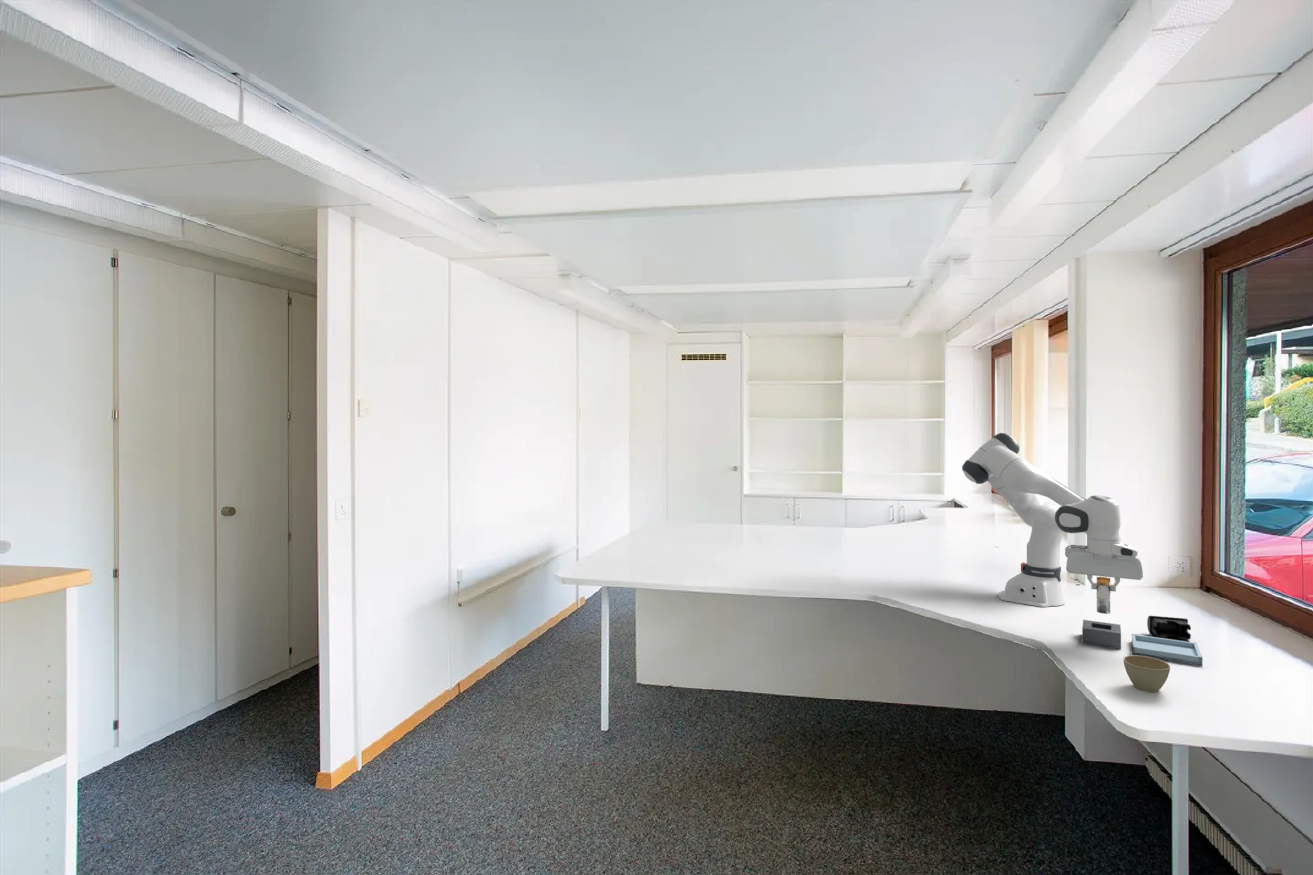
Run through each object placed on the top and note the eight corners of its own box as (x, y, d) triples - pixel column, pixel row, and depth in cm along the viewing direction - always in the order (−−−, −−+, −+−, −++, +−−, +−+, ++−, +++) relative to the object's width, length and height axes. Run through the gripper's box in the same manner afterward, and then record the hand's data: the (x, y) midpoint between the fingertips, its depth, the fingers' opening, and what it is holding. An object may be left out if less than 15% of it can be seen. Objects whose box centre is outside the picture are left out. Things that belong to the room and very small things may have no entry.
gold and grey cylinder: (1096, 612, 206) (1096, 578, 205) (1096, 609, 209) (1096, 576, 208) (1110, 614, 204) (1110, 579, 203) (1110, 611, 207) (1110, 577, 206)
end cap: (1184, 636, 210) (1184, 616, 210) (1192, 643, 203) (1192, 622, 203) (1147, 633, 214) (1147, 613, 214) (1153, 640, 207) (1153, 619, 207)
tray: (1133, 655, 195) (1133, 647, 194) (1131, 641, 206) (1131, 633, 206) (1202, 666, 185) (1202, 657, 185) (1196, 651, 197) (1196, 643, 197)
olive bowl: (1113, 681, 176) (1113, 656, 176) (1148, 679, 177) (1148, 654, 176) (1144, 697, 166) (1144, 670, 166) (1180, 695, 167) (1180, 668, 167)
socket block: (1082, 643, 205) (1082, 627, 205) (1083, 634, 213) (1083, 619, 213) (1120, 649, 200) (1120, 633, 199) (1120, 639, 208) (1120, 624, 208)
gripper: (1064, 545, 209) (1064, 587, 209) (1143, 552, 197) (1143, 596, 198) (1065, 542, 214) (1065, 583, 214) (1142, 548, 202) (1142, 591, 203)
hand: (1103, 589), depth 206 cm, fingers closed on gold and grey cylinder, 4 cm apart
